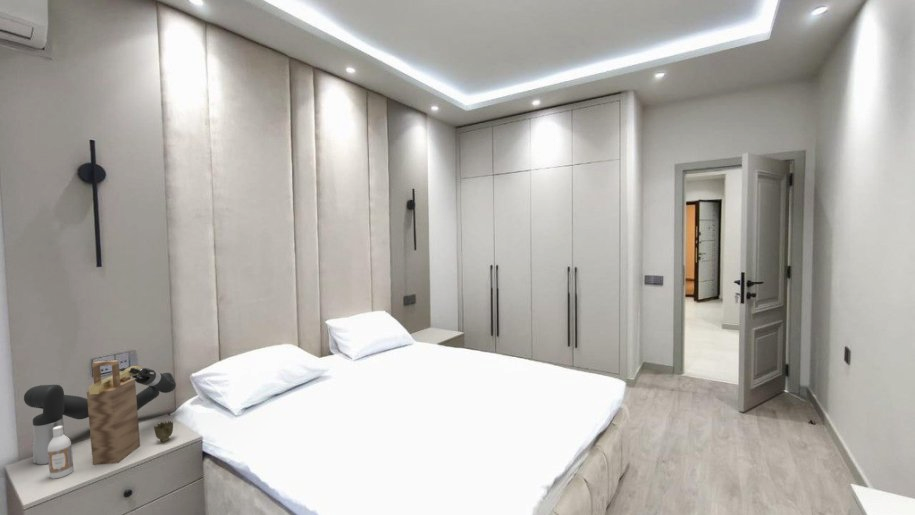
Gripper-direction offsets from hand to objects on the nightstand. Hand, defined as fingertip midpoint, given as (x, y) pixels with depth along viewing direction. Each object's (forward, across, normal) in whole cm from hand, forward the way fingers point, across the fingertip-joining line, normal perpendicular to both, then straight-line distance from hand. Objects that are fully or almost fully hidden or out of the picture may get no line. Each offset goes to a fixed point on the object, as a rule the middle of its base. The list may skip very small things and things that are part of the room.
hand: (126, 370), depth 185 cm
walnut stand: (-9, 0, -36) cm, 37 cm away
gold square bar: (+4, 0, -6) cm, 7 cm away
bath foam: (+1, +13, -42) cm, 44 cm away
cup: (-18, -14, -31) cm, 38 cm away
